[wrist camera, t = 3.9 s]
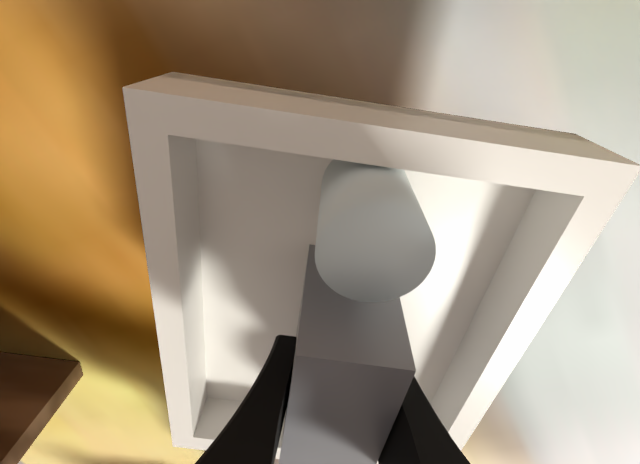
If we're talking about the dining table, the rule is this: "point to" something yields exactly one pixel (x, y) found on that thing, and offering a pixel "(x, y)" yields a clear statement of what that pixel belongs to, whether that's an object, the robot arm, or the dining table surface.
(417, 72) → the dining table surface
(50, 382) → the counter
